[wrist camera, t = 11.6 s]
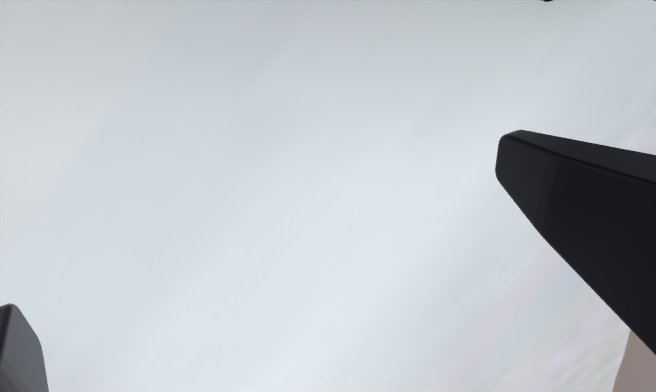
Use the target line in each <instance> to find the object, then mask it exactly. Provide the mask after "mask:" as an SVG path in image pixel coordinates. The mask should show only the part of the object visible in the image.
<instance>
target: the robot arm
mask: <svg viewBox="0 0 656 392" xmlns="http://www.w3.org/2000/svg"><path fill="white" fill-rule="evenodd" d="M542 1H545V2H549V1H552V0H542ZM654 1H656V0H654ZM495 173H496V177H497V179H498V181H499V182H500V184H501V185H502V186H503V188H504V189H505V190H506V191H507V193H508V194H509V195H510V197H511V198H512V199H513V200H514V202H515V203H516V204H517V205H518V207H519V208H520V209H521V211H522V212H523V213H524V214H525V216H526V217H527V218H528V220H529V221H530V222H531V223H532V225H533V226H534V227H535V228H536V230H537V231H538V232H539V233H540V235H541V236H542V237H543V238H544V239H545V240H546V241H547V242H548V243H549V244H550V245H551V247H552V248H553V249H554V250H555V251H556V252H557V253H558V254H559V255H560V256H561V257H562V258H563V259H564V260H565V261H566V262H567V263H568V264H569V265H570V266H571V267H572V268H573V270H574V271H575V272H576V273H577V274H578V275H579V276H580V277H581V278H582V279H583V280H584V281H585V282H586V283H587V284H588V285H589V286H590V287H591V288H592V289H593V290H594V291H595V292H596V294H597V295H598V296H599V297H600V298H601V299H602V300H603V301H604V302H605V303H606V304H607V305H608V306H609V307H610V308H611V309H612V310H613V311H614V312H615V313H616V314H617V315H618V316H619V318H620V319H621V320H622V321H623V322H624V323H625V324H626V325H627V326H628V327H629V328H630V329H631V330H632V331H633V332H634V333H635V334H636V335H637V336H638V337H639V338H640V339H641V340H642V342H644V343H645V345H646V346H647V347H648V348H649V349H650V350H651V351H652V352H653V353H654V354H655V355H656V155H651V154H646V153H641V152H636V151H630V150H625V149H620V148H615V147H609V146H604V145H599V144H594V143H588V142H583V141H578V140H573V139H567V138H562V137H557V136H552V135H546V134H541V133H536V132H531V131H525V130H517V131H514V132H511V133H508V134H505V135H503V136H502V137H501V139H500V140H499V145H498V152H497V160H496V167H495ZM0 392H49V390H48V384H47V377H46V371H45V364H44V358H43V352H42V347H41V344H40V341H39V339H38V337H37V335H36V334H35V332H34V331H33V329H32V328H31V326H30V325H29V323H28V322H27V320H26V319H25V317H24V316H23V314H22V312H21V311H20V309H19V308H18V307H17V306H16V305H14V304H6V305H3V306H0Z"/></svg>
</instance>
